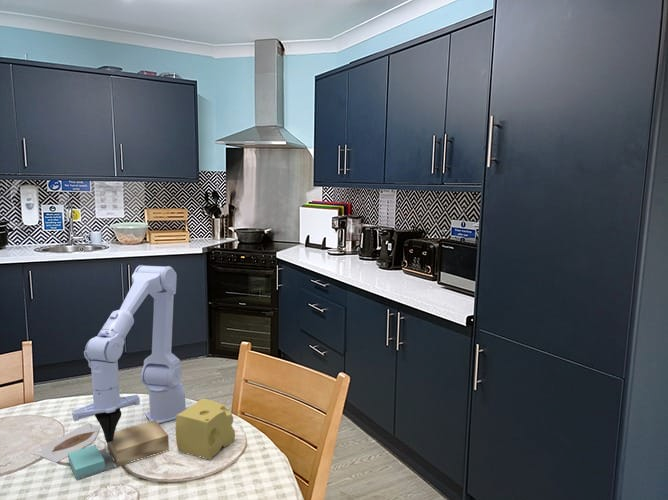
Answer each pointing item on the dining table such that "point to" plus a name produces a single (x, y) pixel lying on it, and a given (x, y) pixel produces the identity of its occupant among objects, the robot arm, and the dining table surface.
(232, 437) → the cheese
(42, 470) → the dining table surface
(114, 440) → the block
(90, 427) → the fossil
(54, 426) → the dining table surface
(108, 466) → the mat
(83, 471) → the turquoise rectangular block
